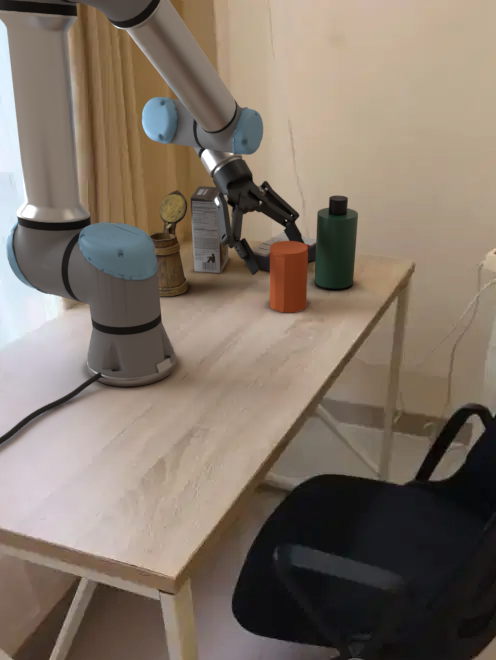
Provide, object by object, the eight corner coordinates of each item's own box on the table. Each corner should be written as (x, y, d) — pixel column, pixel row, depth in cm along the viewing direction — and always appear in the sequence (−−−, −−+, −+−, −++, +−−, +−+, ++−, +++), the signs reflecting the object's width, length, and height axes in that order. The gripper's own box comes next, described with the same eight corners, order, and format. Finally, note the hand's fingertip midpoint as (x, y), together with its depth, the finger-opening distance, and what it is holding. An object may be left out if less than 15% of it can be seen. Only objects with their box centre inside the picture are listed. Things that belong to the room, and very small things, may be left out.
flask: (328, 294, 158) (333, 206, 147) (306, 280, 164) (309, 195, 153) (361, 286, 162) (368, 200, 151) (338, 273, 168) (343, 190, 157)
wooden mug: (202, 276, 166) (197, 191, 155) (177, 299, 155) (170, 210, 144) (165, 271, 168) (158, 187, 157) (138, 293, 157) (128, 205, 146)
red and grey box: (246, 249, 169) (283, 229, 178) (246, 267, 172) (283, 246, 181) (286, 259, 164) (322, 238, 173) (286, 278, 167) (321, 256, 176)
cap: (282, 315, 149) (282, 255, 142) (263, 302, 154) (263, 244, 147) (312, 307, 153) (315, 249, 145) (293, 295, 157) (294, 238, 150)
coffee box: (202, 257, 175) (198, 185, 165) (229, 259, 174) (227, 186, 164) (193, 271, 168) (188, 197, 158) (221, 273, 167) (218, 198, 157)
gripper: (262, 169, 159) (312, 256, 160) (171, 192, 145) (226, 288, 146) (280, 146, 153) (332, 237, 154) (187, 168, 138) (245, 269, 139)
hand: (281, 262), depth 150 cm, fingers open, 13 cm apart
